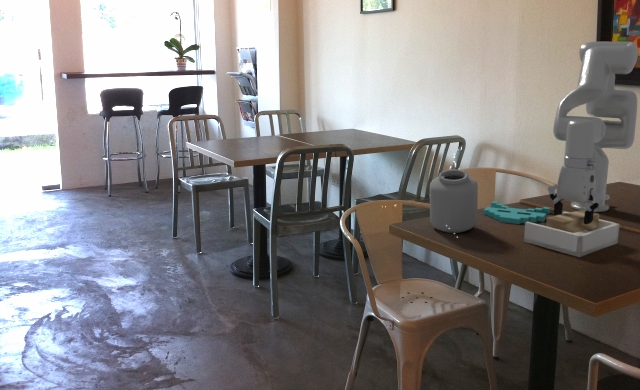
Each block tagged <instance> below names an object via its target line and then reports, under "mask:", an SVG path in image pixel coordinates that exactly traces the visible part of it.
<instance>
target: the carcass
mask: <svg viewBox="0 0 640 390" xmlns="http://www.w3.org/2000/svg"><path fill="white" fill-rule="evenodd" d="M565 213H570V212H569V211H565V210H564V211H562V214H565ZM619 233H620V223H616V222H613V221H610V220H605V219H600V218H599V223H598V227H597V228H593V229H589V230H584V231H580V232H576V233H571V232H567V231H563V230H559V229H555V228H551V227H547V226H546V225H543V224H538V223H534V222H525V223H524V235H523V242H524V243H528V244H531V245H535V246H539V247H542V248H545V249H549V250H552V251H557V252H559V253H563V254H567V255H569V256H570V255H571V256H574V257H577V258H581V257H584V256H586V255H588V254H591V253H595V252H597V251H600V250H604V249H606V248H608V247H611V246H613V245H617V244H618V241H619Z"/></svg>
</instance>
